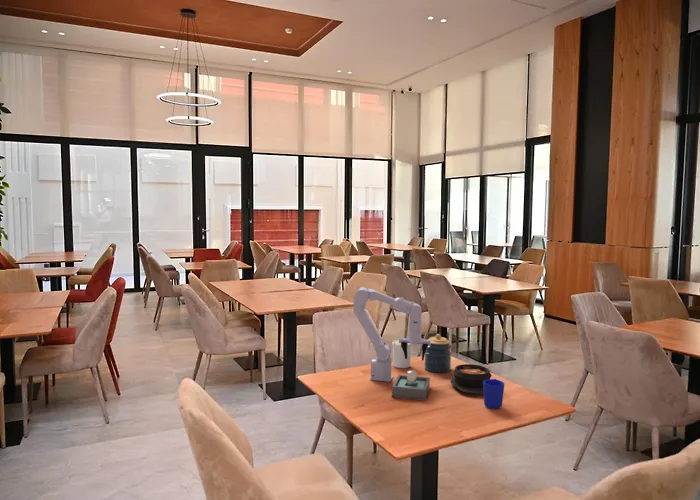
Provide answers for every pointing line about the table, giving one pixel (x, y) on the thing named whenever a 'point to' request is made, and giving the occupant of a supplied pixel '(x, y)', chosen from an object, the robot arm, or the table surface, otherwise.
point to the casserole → (470, 378)
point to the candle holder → (401, 355)
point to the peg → (411, 378)
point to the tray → (411, 388)
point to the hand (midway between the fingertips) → (414, 359)
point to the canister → (438, 355)
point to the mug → (493, 393)
